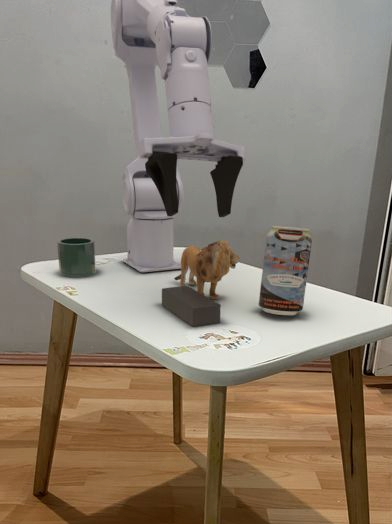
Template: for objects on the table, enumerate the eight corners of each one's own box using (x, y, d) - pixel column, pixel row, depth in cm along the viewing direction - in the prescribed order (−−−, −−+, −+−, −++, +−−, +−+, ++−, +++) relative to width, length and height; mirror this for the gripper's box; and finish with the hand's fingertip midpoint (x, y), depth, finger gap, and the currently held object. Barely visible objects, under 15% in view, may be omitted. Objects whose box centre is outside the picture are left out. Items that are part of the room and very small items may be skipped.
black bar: (161, 305, 81) (161, 288, 80) (186, 302, 82) (187, 285, 81) (192, 326, 72) (193, 308, 71) (220, 322, 74) (220, 304, 73)
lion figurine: (242, 303, 82) (245, 241, 79) (212, 309, 79) (214, 245, 76) (187, 280, 94) (188, 225, 90) (159, 284, 91) (159, 228, 87)
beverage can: (254, 318, 76) (260, 228, 72) (263, 303, 83) (269, 220, 78) (301, 323, 74) (310, 232, 70) (306, 307, 81) (315, 223, 77)
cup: (56, 270, 98) (53, 238, 96) (89, 267, 100) (88, 236, 98) (65, 278, 93) (62, 245, 91) (100, 275, 95) (98, 243, 93)
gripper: (149, 91, 67) (159, 205, 67) (252, 104, 73) (262, 208, 73) (129, 115, 73) (139, 219, 73) (226, 125, 80) (235, 221, 80)
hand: (199, 214), depth 74 cm, fingers open, 7 cm apart
